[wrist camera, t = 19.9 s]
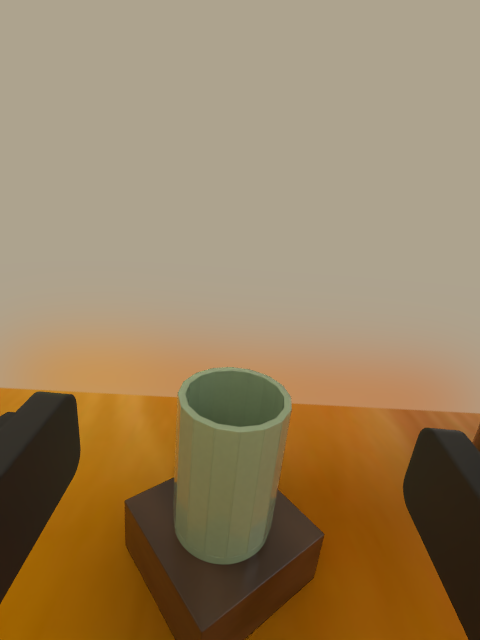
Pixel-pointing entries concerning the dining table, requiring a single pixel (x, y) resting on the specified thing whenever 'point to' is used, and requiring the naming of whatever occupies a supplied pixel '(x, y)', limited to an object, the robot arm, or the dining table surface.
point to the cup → (228, 462)
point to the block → (218, 569)
